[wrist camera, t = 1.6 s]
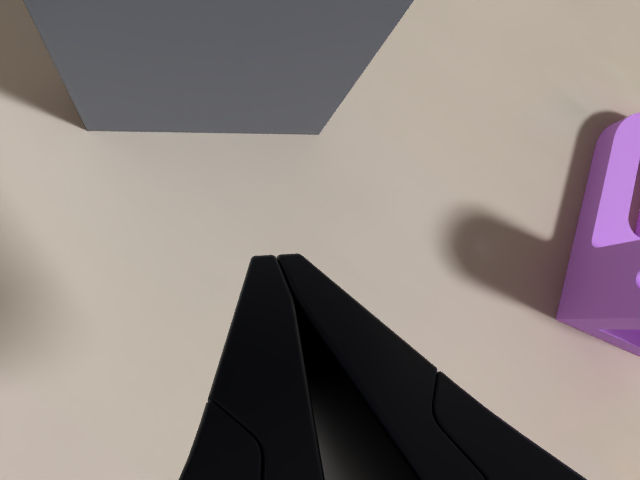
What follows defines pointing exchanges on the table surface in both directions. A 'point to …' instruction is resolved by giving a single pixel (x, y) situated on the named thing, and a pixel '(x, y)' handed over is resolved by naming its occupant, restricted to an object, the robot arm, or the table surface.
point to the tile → (212, 60)
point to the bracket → (607, 245)
